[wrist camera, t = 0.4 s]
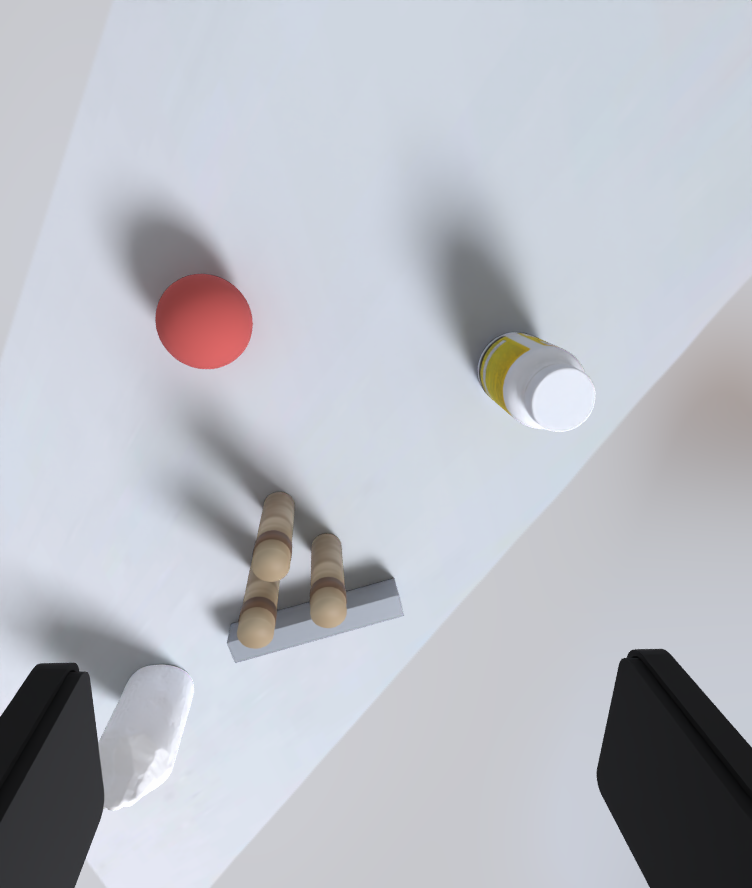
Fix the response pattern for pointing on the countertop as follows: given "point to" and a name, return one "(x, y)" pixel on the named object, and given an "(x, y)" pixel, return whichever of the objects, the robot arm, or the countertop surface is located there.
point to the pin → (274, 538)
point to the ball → (204, 321)
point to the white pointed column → (144, 733)
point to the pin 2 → (327, 582)
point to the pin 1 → (258, 612)
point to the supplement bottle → (536, 382)
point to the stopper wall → (300, 629)
